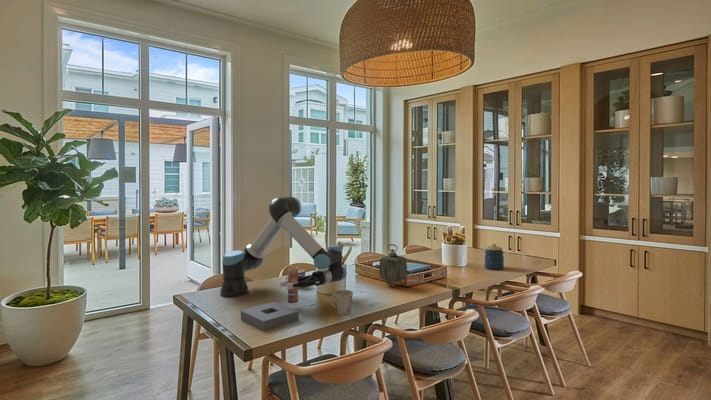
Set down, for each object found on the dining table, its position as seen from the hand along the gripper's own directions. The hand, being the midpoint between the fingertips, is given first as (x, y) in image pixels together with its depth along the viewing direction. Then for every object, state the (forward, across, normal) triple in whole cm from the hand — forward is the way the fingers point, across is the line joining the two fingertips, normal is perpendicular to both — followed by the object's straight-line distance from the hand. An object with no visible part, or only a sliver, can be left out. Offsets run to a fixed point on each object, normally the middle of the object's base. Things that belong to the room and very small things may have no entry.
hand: (283, 285), depth 191 cm
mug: (-17, -22, -12) cm, 31 cm away
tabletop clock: (-70, -9, -12) cm, 72 cm away
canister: (-155, -30, -12) cm, 159 cm away
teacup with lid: (-30, +33, -13) cm, 47 cm away
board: (+12, -6, -12) cm, 18 cm away
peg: (-5, 0, -9) cm, 10 cm away
